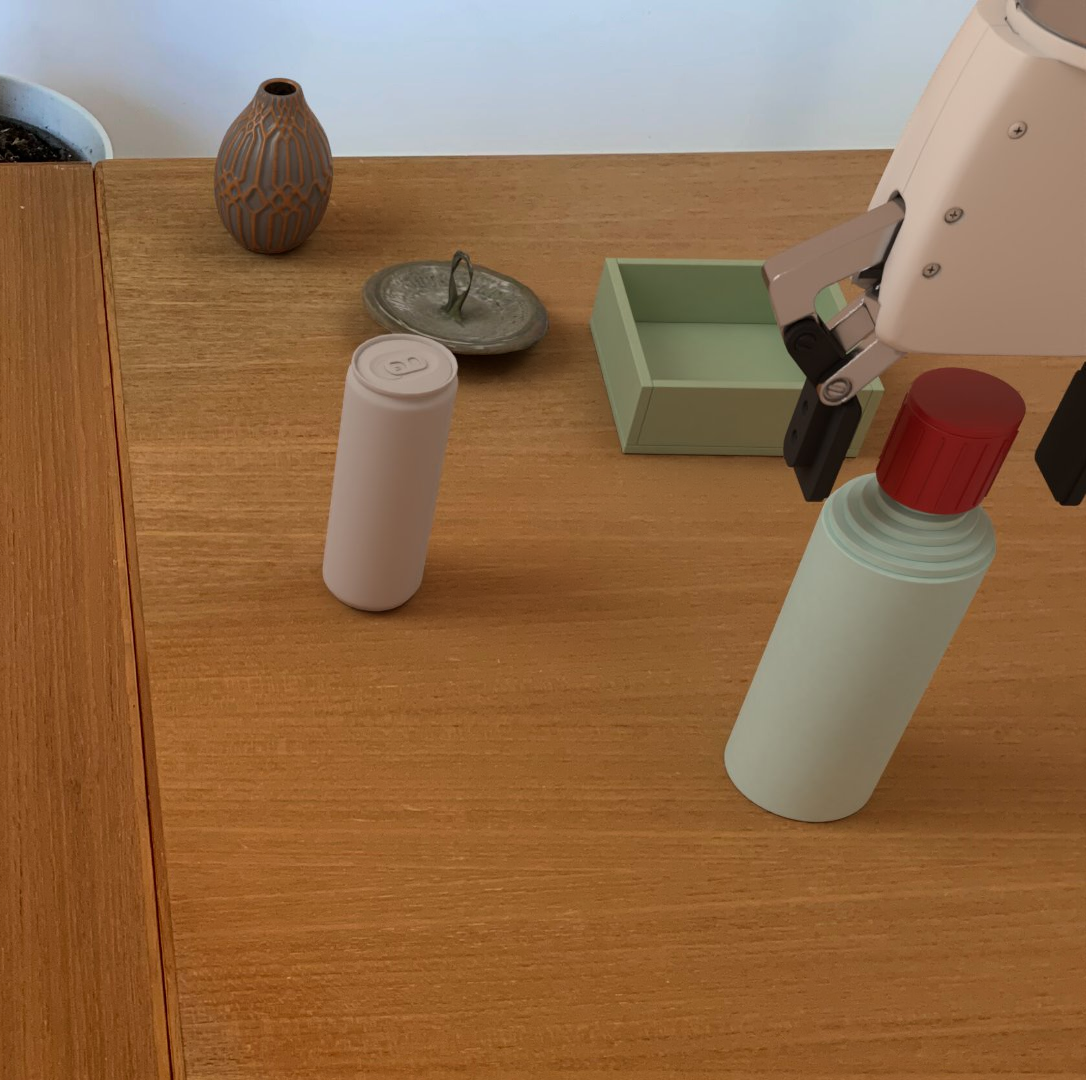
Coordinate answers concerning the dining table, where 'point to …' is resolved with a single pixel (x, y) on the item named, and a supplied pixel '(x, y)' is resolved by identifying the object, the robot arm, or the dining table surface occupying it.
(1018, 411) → the cap
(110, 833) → the dining table surface
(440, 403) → the beverage can
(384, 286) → the lid
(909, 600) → the bottle
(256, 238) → the vase
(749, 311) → the bin
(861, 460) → the dining table surface
